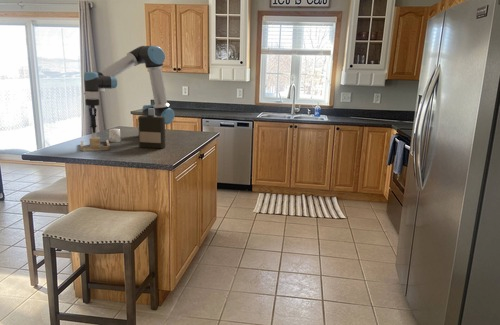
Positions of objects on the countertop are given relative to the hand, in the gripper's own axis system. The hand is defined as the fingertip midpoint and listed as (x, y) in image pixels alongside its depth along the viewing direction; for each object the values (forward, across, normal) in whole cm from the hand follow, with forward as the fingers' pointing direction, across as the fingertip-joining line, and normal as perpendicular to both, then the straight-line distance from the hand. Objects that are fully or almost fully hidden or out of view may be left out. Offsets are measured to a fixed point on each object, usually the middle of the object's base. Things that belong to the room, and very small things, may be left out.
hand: (94, 137), depth 219 cm
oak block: (+7, -10, 0) cm, 12 cm away
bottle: (+7, +4, +34) cm, 35 cm away
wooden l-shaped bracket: (+7, -6, 0) cm, 9 cm away
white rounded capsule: (+7, -22, +13) cm, 26 cm away
